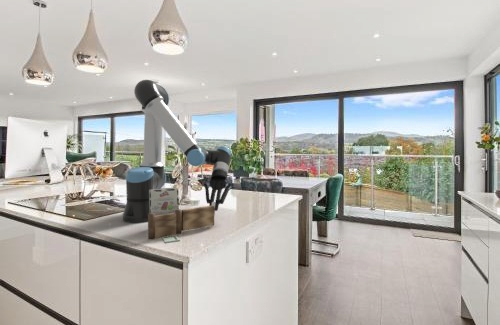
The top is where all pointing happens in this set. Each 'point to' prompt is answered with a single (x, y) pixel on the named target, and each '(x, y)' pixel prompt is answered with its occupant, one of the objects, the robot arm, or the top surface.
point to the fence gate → (197, 217)
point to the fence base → (164, 224)
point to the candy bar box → (163, 200)
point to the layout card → (170, 239)
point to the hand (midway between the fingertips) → (211, 216)
